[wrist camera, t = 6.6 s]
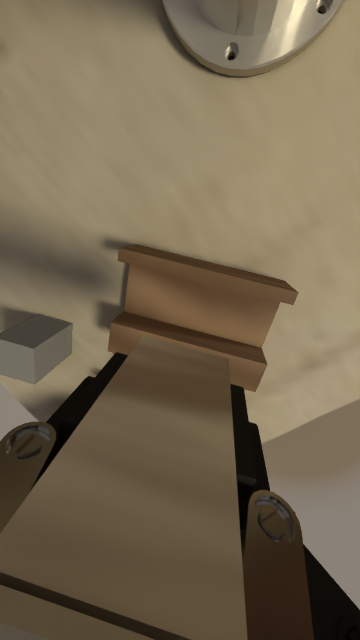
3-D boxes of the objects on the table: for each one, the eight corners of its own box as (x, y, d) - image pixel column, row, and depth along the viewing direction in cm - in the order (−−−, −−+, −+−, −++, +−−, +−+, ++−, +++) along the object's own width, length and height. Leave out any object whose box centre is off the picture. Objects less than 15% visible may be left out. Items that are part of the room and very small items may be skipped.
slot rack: (135, 244, 22) (119, 247, 18) (284, 281, 21) (298, 292, 17) (117, 380, 28) (102, 403, 25) (231, 413, 27) (233, 442, 24)
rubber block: (39, 314, 27) (-8, 337, 21) (72, 323, 26) (33, 348, 21) (40, 344, 28) (-4, 373, 23) (71, 353, 28) (34, 384, 22)
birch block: (143, 335, 11) (-22, 564, 3) (228, 358, 11) (249, 660, 3) (131, 402, 12) (-1, 660, 5) (205, 423, 12) (183, 728, 5)
